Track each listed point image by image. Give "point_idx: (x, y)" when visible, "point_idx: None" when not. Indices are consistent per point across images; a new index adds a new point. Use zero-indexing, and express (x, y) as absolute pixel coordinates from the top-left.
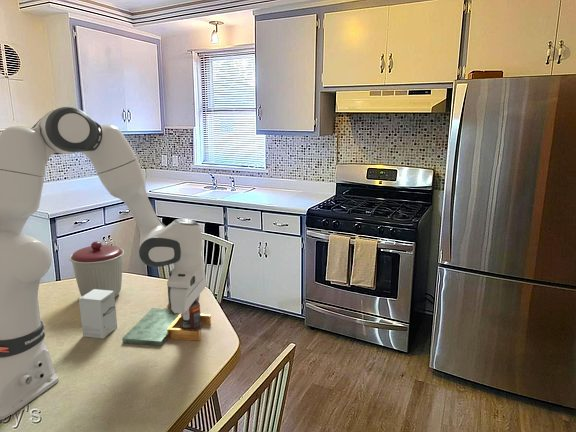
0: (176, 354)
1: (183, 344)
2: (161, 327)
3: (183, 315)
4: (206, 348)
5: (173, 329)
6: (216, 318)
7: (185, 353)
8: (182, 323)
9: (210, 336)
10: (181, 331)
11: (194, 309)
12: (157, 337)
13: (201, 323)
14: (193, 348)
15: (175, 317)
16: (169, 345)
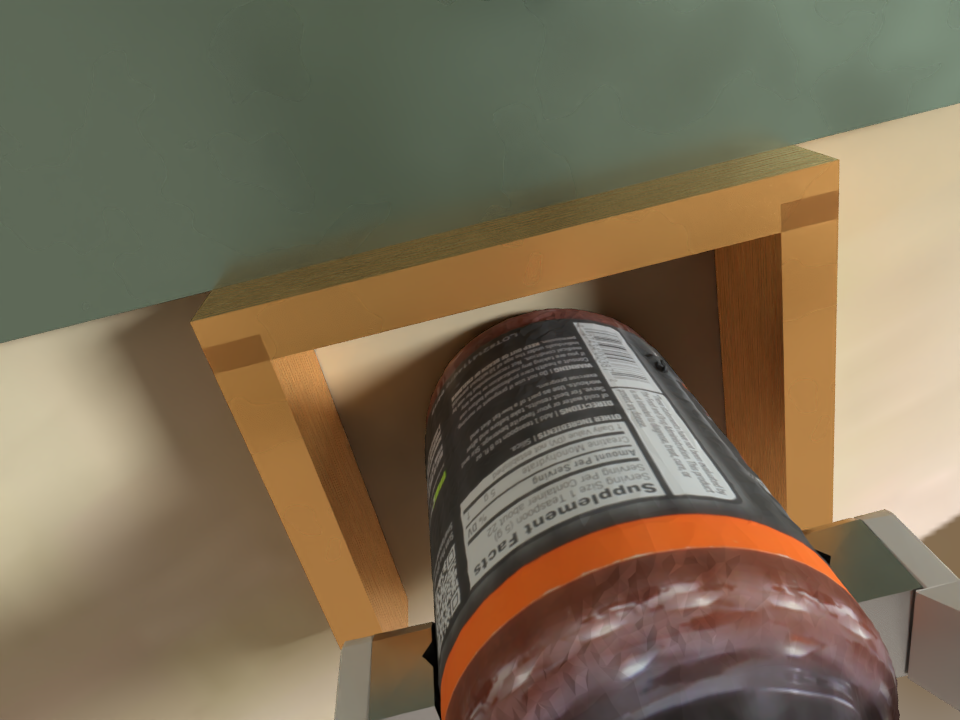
0: (8, 568)
1: (219, 516)
2: (327, 51)
3: (339, 715)
4: (282, 716)
5: (240, 417)
6: (888, 500)
7: (88, 625)
8: (443, 453)
9: None
10: (288, 511)
11: None
12: (21, 219)
13: (728, 436)
14: (213, 634)
15: (745, 61)
16: (101, 395)
